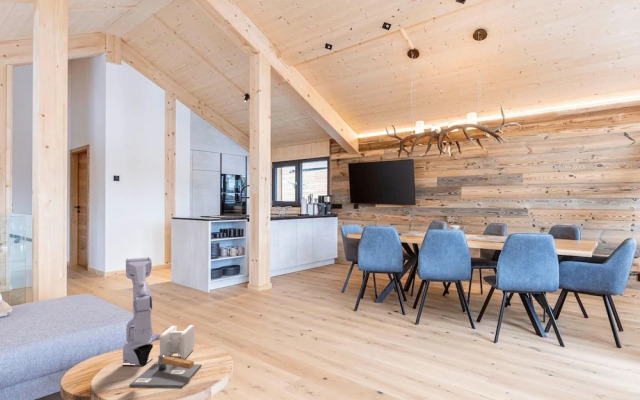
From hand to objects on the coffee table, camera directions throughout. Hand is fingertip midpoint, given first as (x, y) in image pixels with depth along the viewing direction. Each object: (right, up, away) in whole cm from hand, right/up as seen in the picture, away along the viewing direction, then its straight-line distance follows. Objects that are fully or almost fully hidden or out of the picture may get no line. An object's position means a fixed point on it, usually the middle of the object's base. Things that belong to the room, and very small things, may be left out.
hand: (143, 365), depth 142 cm
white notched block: (+3, -7, +26) cm, 27 cm away
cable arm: (+9, -6, +7) cm, 13 cm away
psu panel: (+7, -7, +5) cm, 11 cm away
